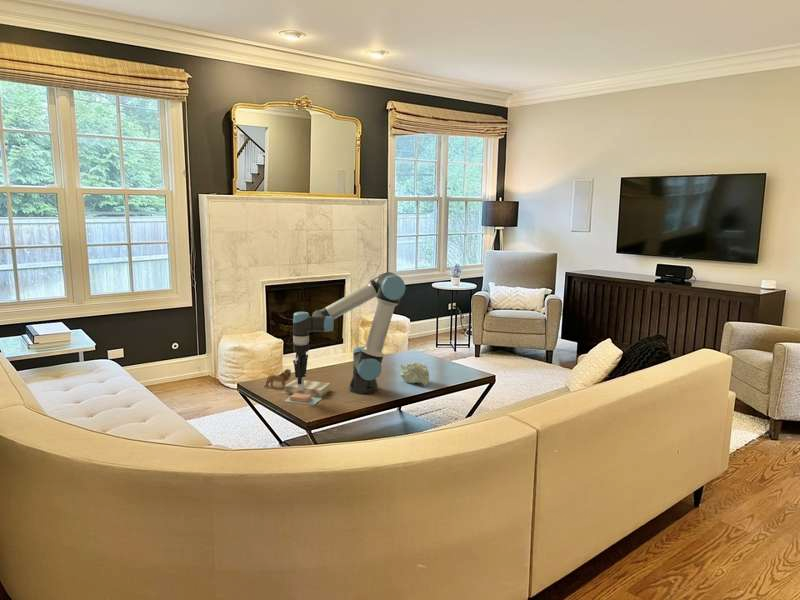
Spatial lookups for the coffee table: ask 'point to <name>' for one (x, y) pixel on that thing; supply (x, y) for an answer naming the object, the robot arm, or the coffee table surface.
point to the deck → (308, 388)
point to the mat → (310, 402)
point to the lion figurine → (279, 378)
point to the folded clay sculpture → (415, 373)
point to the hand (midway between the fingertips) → (300, 389)
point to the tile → (300, 397)
